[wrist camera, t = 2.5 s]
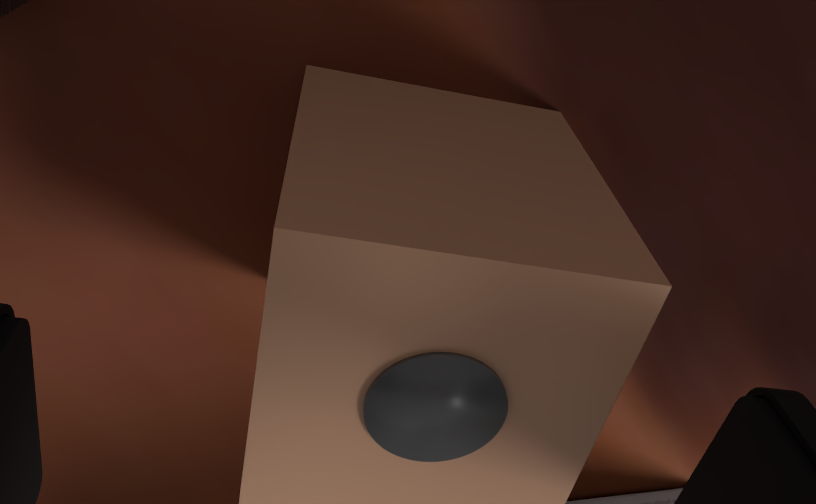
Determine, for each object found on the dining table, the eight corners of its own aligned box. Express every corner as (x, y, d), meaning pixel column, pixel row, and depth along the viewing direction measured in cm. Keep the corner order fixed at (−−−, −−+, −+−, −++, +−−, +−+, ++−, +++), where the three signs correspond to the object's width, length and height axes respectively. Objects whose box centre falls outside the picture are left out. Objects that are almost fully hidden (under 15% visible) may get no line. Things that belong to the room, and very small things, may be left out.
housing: (559, 111, 14) (675, 291, 9) (492, 310, 17) (551, 539, 12) (306, 64, 13) (273, 231, 8) (276, 281, 16) (237, 513, 11)
